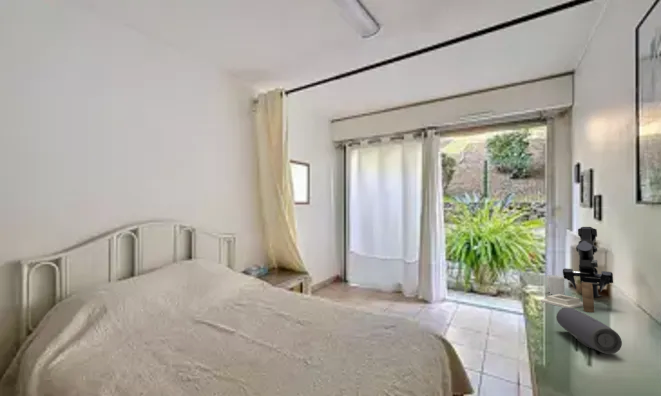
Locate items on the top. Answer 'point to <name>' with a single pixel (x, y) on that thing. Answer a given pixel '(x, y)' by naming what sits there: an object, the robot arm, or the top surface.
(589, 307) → the dowel
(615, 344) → the bluetooth speaker
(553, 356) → the top surface
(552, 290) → the white cup
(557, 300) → the socket
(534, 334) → the top surface
